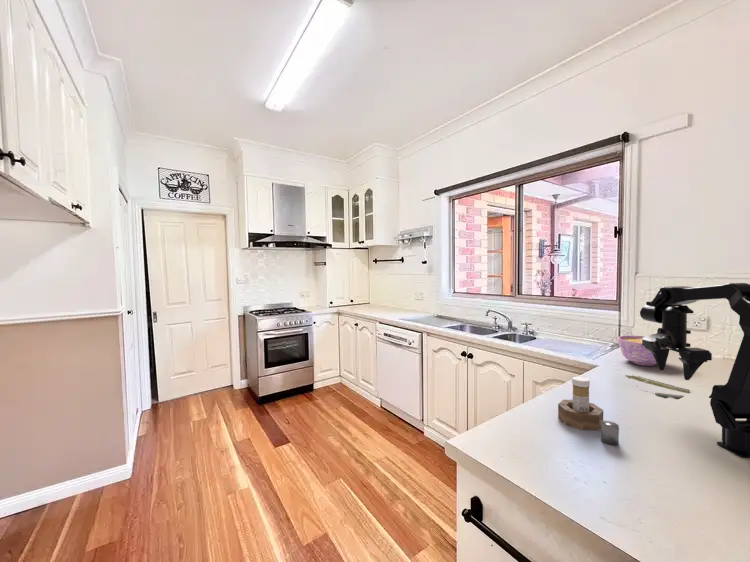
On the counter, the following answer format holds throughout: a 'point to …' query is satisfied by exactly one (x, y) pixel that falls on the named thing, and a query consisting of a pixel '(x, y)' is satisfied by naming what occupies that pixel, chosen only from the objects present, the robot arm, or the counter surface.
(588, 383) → the sprinkles bottle
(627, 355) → the bowl of food
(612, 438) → the short metal stub
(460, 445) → the counter surface
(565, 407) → the walnut collar
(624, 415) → the counter surface
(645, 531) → the counter surface
